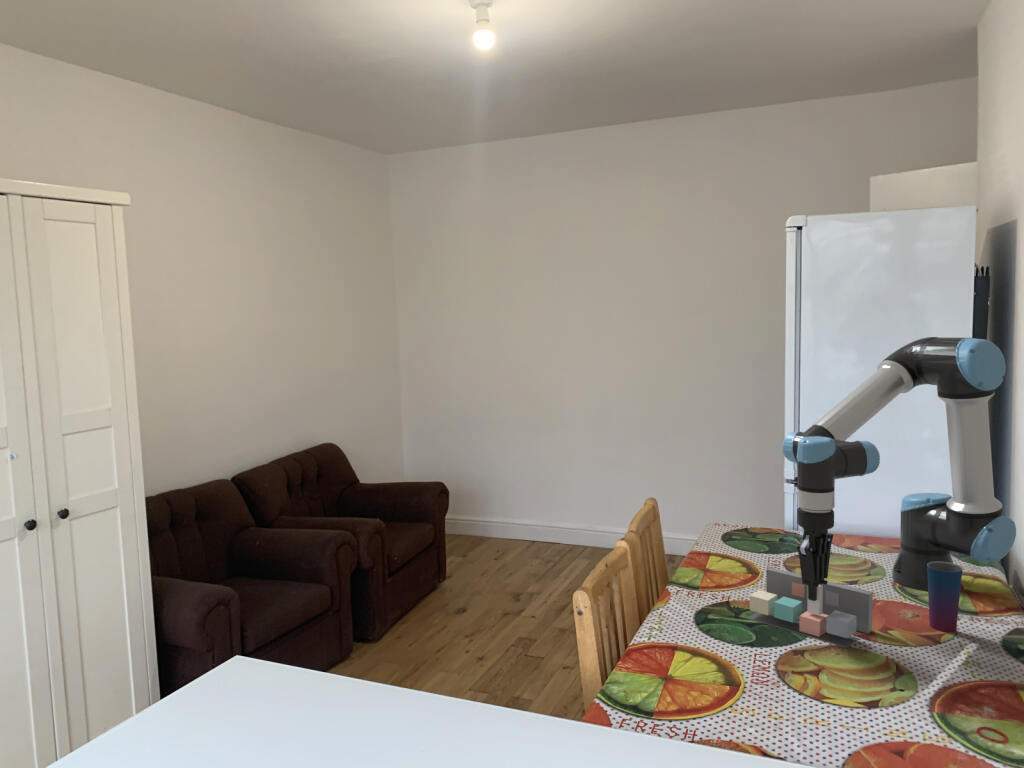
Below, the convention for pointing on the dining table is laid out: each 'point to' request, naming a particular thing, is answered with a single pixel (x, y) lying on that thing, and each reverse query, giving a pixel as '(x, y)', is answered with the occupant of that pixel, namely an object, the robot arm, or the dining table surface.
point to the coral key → (813, 623)
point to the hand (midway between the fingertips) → (814, 612)
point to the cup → (944, 595)
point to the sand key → (762, 602)
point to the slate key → (841, 624)
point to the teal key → (787, 609)
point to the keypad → (833, 600)
